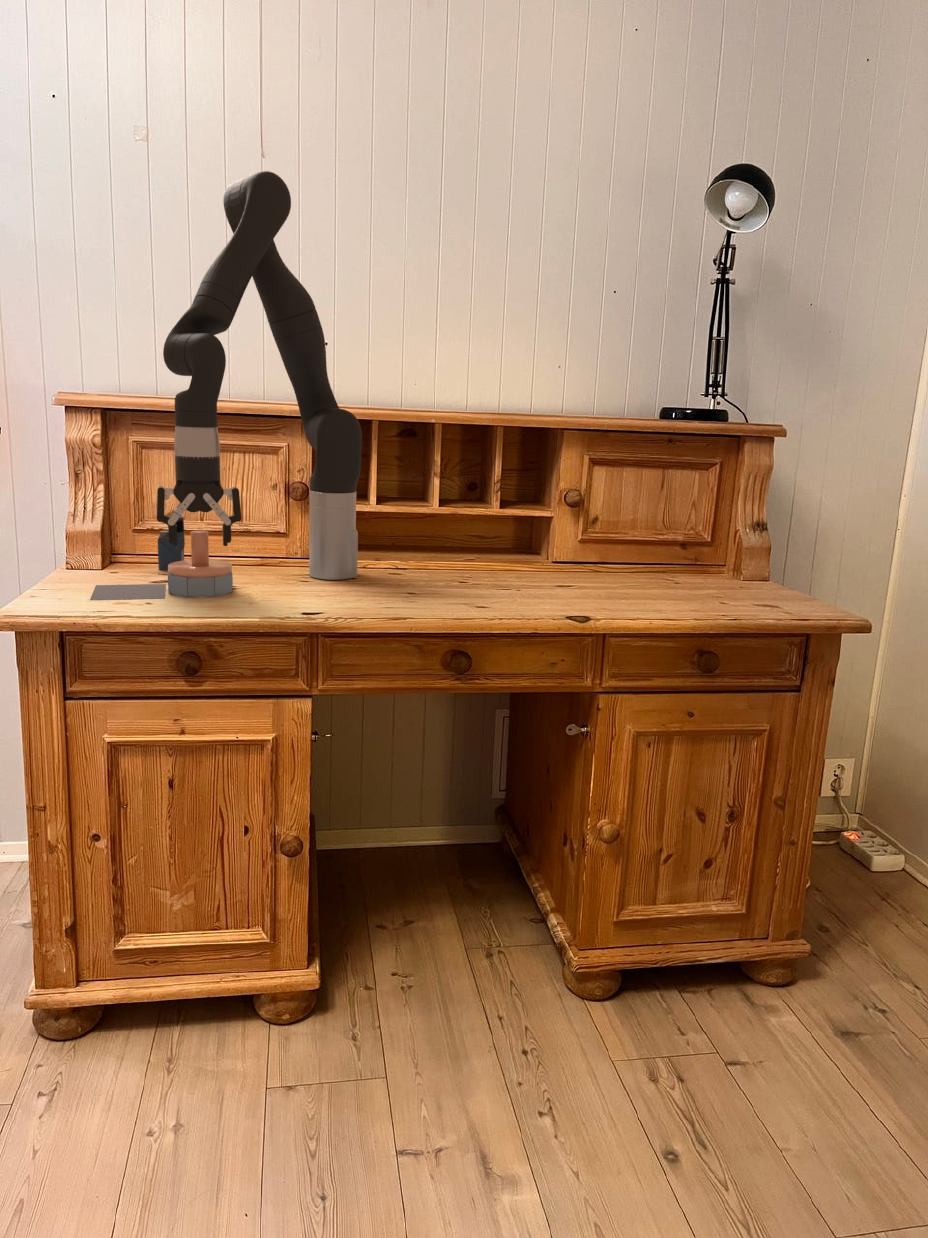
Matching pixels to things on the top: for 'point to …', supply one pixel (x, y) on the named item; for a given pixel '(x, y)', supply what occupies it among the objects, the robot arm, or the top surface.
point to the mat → (129, 592)
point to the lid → (199, 561)
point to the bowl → (200, 586)
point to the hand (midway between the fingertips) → (200, 545)
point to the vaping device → (171, 547)
